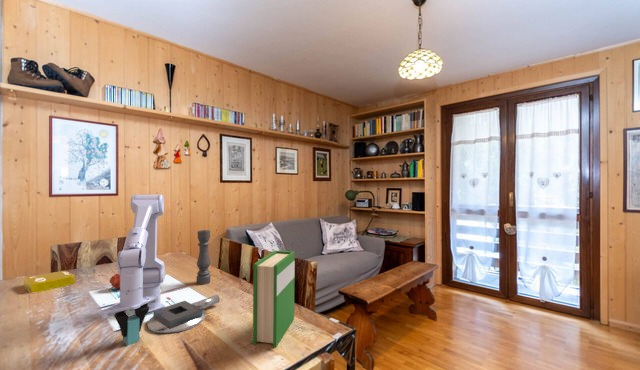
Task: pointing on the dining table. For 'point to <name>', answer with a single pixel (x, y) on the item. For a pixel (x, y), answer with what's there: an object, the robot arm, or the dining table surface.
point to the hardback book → (273, 296)
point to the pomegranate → (115, 281)
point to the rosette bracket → (180, 316)
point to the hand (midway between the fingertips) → (131, 333)
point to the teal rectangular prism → (132, 330)
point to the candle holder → (203, 258)
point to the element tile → (49, 281)
